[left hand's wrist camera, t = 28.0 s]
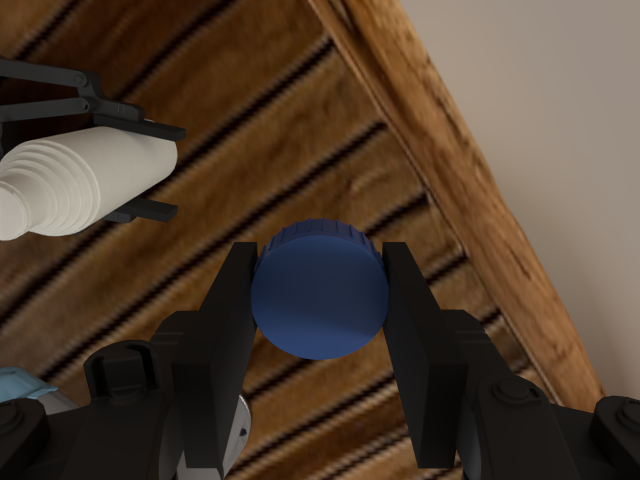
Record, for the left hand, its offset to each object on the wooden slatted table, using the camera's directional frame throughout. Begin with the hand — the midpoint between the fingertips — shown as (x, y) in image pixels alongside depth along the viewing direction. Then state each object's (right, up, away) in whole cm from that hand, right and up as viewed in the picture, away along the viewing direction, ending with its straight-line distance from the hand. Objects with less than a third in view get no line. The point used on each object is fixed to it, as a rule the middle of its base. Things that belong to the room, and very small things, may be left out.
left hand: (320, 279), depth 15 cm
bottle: (-17, +10, +27) cm, 34 cm away
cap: (0, 0, -1) cm, 1 cm away
